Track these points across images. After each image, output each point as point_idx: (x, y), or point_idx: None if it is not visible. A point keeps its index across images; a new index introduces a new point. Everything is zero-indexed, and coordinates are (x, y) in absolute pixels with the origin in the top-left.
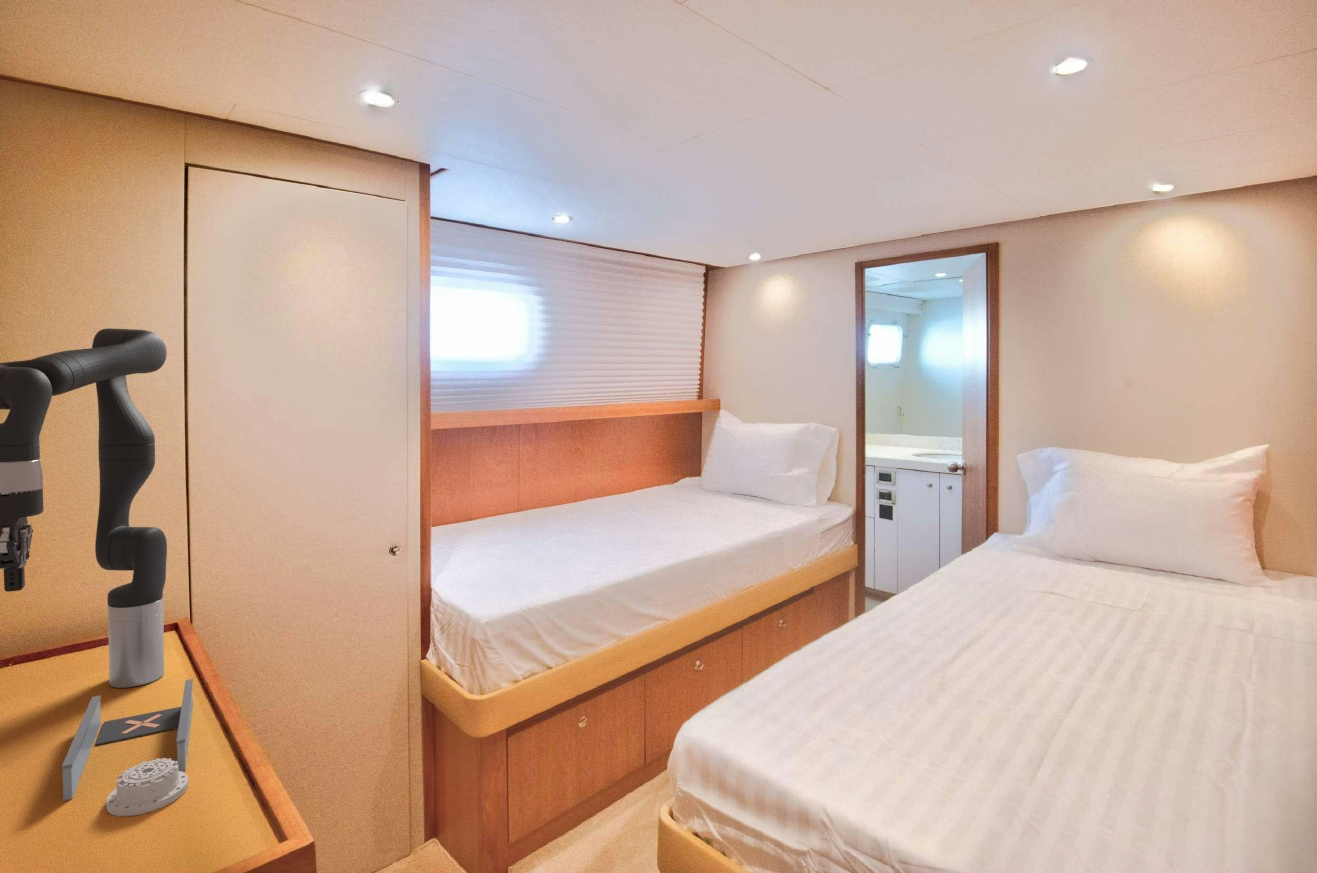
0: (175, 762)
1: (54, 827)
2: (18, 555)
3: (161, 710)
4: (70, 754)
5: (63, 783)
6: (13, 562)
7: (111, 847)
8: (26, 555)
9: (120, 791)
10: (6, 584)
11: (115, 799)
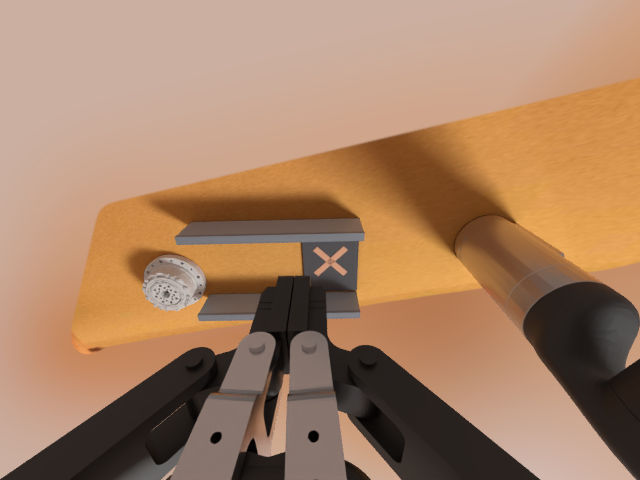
0: (178, 309)
1: (146, 223)
2: (178, 459)
3: (356, 273)
4: (200, 239)
5: (183, 229)
6: (187, 410)
7: (105, 265)
8: (348, 415)
9: (151, 273)
10: (260, 298)
11: (163, 263)
